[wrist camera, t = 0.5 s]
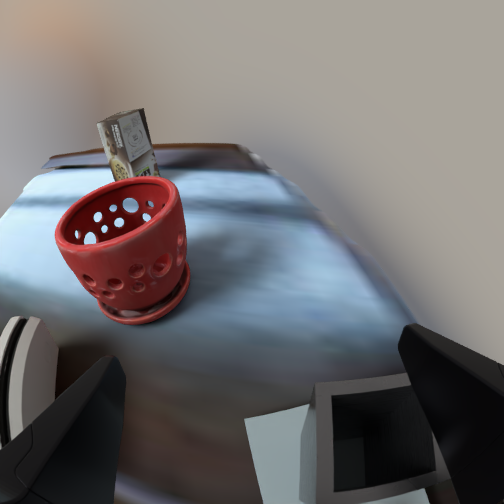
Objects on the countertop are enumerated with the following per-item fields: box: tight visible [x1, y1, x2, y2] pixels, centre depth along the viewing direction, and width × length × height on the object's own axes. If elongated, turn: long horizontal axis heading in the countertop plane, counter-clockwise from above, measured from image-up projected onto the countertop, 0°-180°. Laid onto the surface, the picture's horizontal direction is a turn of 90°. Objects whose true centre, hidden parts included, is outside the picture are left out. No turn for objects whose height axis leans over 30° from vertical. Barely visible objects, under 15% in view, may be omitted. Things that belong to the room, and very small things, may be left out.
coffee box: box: [97, 108, 160, 181], centre depth 50 cm, size 9×6×16 cm
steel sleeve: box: [299, 373, 450, 504], centre depth 11 cm, size 5×5×10 cm
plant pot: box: [55, 176, 190, 325], centre depth 27 cm, size 13×13×12 cm
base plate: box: [244, 404, 430, 504], centre depth 12 cm, size 16×11×4 cm
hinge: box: [0, 316, 59, 449], centre depth 16 cm, size 17×5×10 cm, turn 18°
